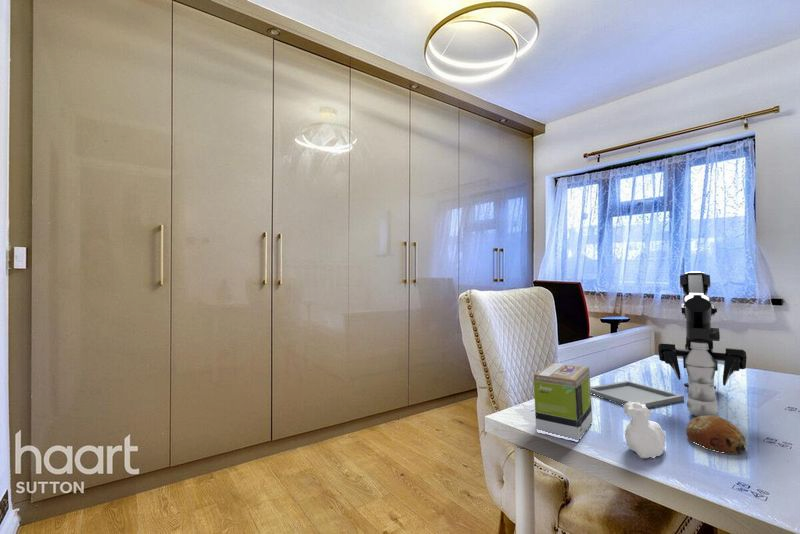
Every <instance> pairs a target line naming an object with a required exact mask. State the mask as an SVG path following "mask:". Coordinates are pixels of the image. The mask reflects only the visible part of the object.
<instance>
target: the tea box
mask: <svg viewBox="0 0 800 534" xmlns="http://www.w3.org/2000/svg"><path fill="white" fill-rule="evenodd" d="M590 373H591V372H590V366H583V365H582V366H581V365H574V364H573V365H572V364H564V363H555V362H551V363H549V364H547V366H544V367H543V368H541V369H540V370H539V371H537V372H536V373H534V374H533V388H534V392H533V394H534V395H533V396H534V411H535V412H534V413H535V414H534V415H535V430H536V429H538V430H542V431H545V432H548V433H552V434H556V435H560V436H564V437H568V438H572V439H575V440H579V439H580V437H581V436H582V435H583V433H584V432H585V431H586V430H587V431H588V429H589V428H590V427H591V425H592V424H591V423H593V422H592V421H593V407H592V395H591V388H590V387H591V377H590V376H591V375H590ZM590 424H591V425H590ZM589 426H590V427H589ZM588 427H589V428H588ZM587 428H588V429H587ZM587 431H586V432H587ZM586 432H585V433H586ZM583 436H584V435H583ZM583 436H582V437H583ZM580 440H581V439H580Z"/></svg>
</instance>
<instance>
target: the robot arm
mask: <svg viewBox="0 0 800 534" xmlns="http://www.w3.org/2000/svg"><path fill="white" fill-rule="evenodd" d="M679 286H680V288H682V294H683V295H684V297H683V298H684V299H683V301H684V303H681V304H680V305H681V308H680V309H681V315H682V316H684V319H685V331H686V334H685V335H686V336H685V344H684V347H685V349H684V348H676V343H669V342H667V343H666V342H660V343H659V344H658V345H657V347H658V348H657V349H658V350H657V351H658V357H659V361H660V362H664V363H665V364H668V365H669V366H670V367H671V368H672V370H673V371H674V374H675V375H676V378H677V380H679V381H681V370H680V365H679V360H678V357H682V359H683V360H682V361H683V362H682V363H683V364H682V365H683V368H684V369H686V364H685V358H686V356H687V355H688V354H689V353H690V352H691V351H692V349H691V348H690V346H691V341H702V342H708V348H709V350H707V351H708V353H709V354H710V355H711V356H712V357H713V359H714V360H715V363H716V367H715V372H718V371H719V365H718V364H719V363H718V361H721V362H723V363H724V365H723V373H722V374H723V375H722V385H723V386H725V387H726V385H727V383H728V380H729V379H730V377H731V375H733V373H734V372H739V371H740V370H745V369H746V367H747V352H746V350H744V349H742V348H733V347H725V350H724V351H725V352H724V353H723V352H714V351H713V350H714V342H720V341H721V334H720V328H719V327H712V323H711V321H712V317H715V315H716V313H718V308H717V307H715V306H714V303H711V299H710V297H709V296H707V295H708V292H709V289H710V288H711V275H710V274H707V273H705V272H702V271H687V272H685V273H684V274H682V275H679ZM688 381H689V380H688ZM688 381H687V382H685V383H683V385H684V386H685V387H689V383H688ZM716 388H717V386H716V385H714V389H716Z"/></svg>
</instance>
